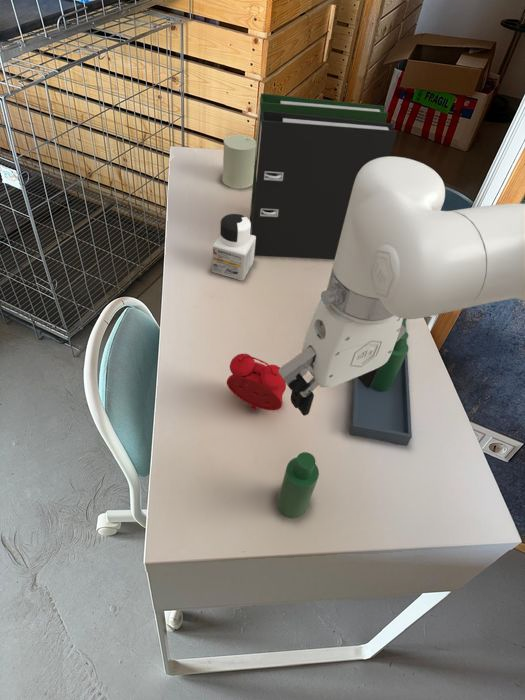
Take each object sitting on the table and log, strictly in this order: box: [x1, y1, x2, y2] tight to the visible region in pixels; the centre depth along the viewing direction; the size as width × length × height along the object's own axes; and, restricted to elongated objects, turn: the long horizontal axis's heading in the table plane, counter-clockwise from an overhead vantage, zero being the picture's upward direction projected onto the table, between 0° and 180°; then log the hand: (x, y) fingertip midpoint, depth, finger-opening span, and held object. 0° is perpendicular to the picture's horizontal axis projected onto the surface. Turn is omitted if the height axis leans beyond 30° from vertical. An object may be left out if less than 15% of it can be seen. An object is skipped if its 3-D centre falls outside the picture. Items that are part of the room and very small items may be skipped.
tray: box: [349, 321, 413, 446], centre depth 95 cm, size 34×10×3 cm, turn 170°
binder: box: [249, 93, 398, 260], centre depth 111 cm, size 27×15×32 cm, turn 91°
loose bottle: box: [277, 451, 320, 519], centre depth 70 cm, size 5×5×14 cm
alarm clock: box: [226, 353, 287, 411], centre depth 81 cm, size 10×6×15 cm, turn 67°
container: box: [211, 213, 256, 281], centre depth 108 cm, size 8×8×13 cm
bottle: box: [371, 331, 409, 392], centre depth 88 cm, size 5×5×14 cm
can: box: [221, 134, 257, 190], centre depth 136 cm, size 9×9×12 cm
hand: (331, 392), depth 60 cm, fingers open, 9 cm apart
